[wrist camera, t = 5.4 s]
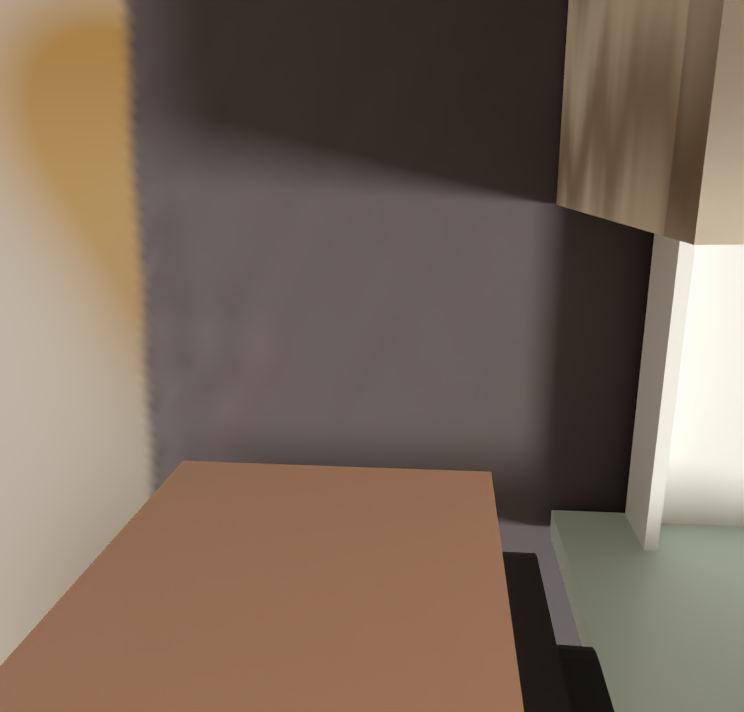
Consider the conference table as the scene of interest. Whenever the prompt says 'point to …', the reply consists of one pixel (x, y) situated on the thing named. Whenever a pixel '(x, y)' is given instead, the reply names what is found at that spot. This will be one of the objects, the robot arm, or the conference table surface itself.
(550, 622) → the robot arm
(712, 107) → the beige brown striped box
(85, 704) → the block
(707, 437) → the mint green drawer
